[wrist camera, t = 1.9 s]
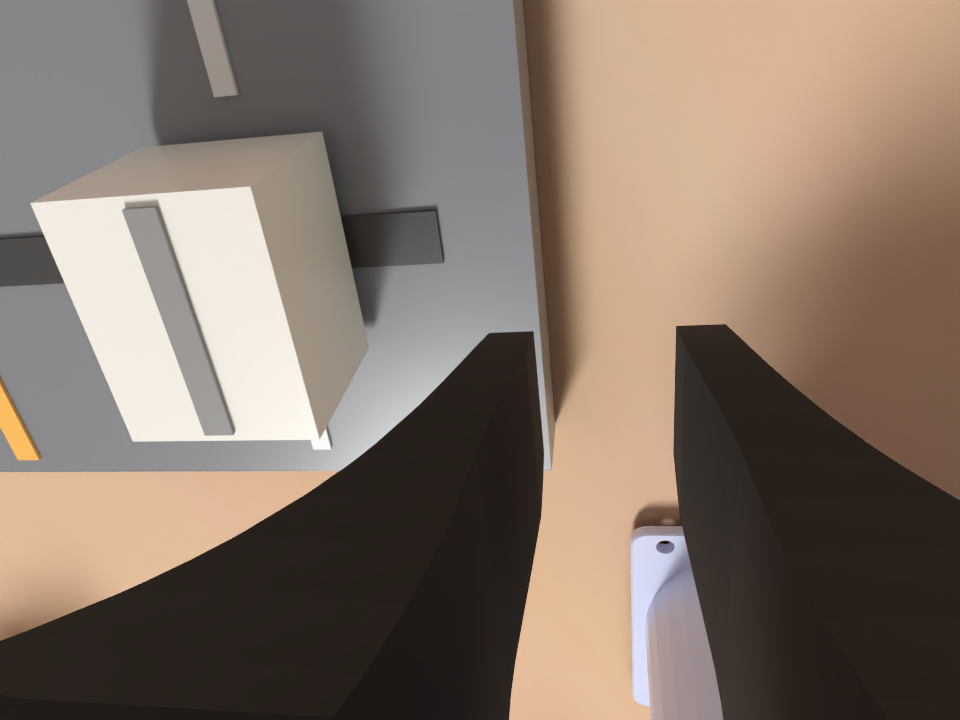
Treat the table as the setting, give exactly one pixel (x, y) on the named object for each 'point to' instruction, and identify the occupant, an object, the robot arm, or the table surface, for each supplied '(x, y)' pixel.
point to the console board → (356, 177)
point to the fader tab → (213, 286)
